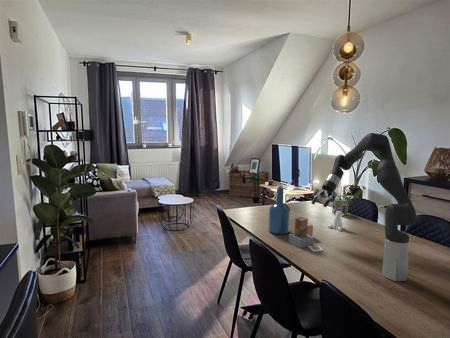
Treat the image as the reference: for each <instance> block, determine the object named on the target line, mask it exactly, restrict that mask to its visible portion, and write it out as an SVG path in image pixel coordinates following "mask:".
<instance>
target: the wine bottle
mask: <svg viewBox="0 0 450 338" xmlns="http://www.w3.org/2000/svg"><path fill="white" fill-rule="evenodd" d="M275 201H276V202H275V203H274V204H272V205H270V206H269V208H268V226H267V228H268V232H269V233H271V234H275V235H287V234H288V233H289V232H290V221H291V208H290V207H289V205H288V204H286V203H284V187H283V185H280V184H279V185H278V186H277V187H276V200H275Z"/></svg>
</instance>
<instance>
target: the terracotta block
mask: <svg viewBox="0 0 450 338" xmlns="http://www.w3.org/2000/svg"><path fill="white" fill-rule="evenodd" d="M313 230H314V225H313V224H312V223H310V222H308V223H307V234H308V235H310V236H313V234H314V233H313V232H314V231H313Z"/></svg>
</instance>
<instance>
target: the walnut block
mask: <svg viewBox="0 0 450 338" xmlns="http://www.w3.org/2000/svg"><path fill="white" fill-rule="evenodd" d="M308 221H309V219H308V218H305V217H302V216H298V217H296V218H295V219H294V233H295V236H298V237H305V236H307V223H309V222H308Z"/></svg>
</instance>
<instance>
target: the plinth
mask: <svg viewBox="0 0 450 338" xmlns="http://www.w3.org/2000/svg"><path fill="white" fill-rule="evenodd" d="M288 242H289V243H290V244H291V245H294V246H295V247H297V248H299V249H300V248H305V247H306V248H307V247H308V246H315V236H313V235H312V236H310V235H308V234H307V236H305V237H298V236H295V232H292V233H289V234H288Z"/></svg>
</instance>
